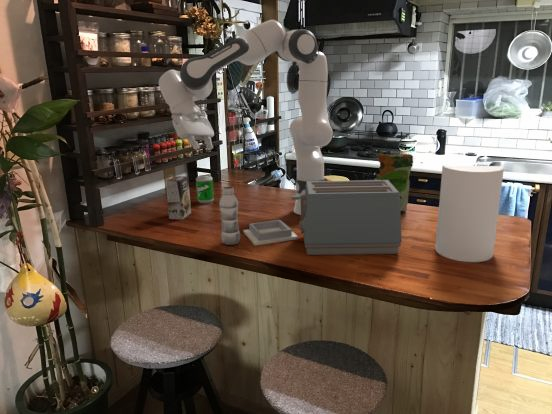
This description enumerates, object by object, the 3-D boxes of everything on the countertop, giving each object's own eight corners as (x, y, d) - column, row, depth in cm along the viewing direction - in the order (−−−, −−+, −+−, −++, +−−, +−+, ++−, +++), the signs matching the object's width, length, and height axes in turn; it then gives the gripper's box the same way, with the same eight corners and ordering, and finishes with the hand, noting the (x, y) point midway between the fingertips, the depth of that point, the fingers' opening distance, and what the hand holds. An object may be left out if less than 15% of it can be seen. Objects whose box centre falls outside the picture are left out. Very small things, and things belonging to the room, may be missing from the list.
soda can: (205, 198, 215) (203, 173, 211) (217, 200, 210) (215, 175, 207) (194, 202, 209) (192, 176, 205) (206, 204, 205) (204, 178, 201)
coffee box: (183, 219, 185) (180, 181, 180) (168, 219, 186) (164, 180, 182) (191, 213, 193) (188, 175, 189) (177, 212, 195) (174, 175, 190)
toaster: (292, 235, 165) (291, 180, 159) (388, 234, 164) (391, 178, 158) (292, 256, 146) (291, 195, 140) (401, 255, 145) (405, 193, 139)
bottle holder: (284, 226, 174) (284, 218, 173) (298, 239, 161) (297, 229, 160) (243, 232, 169) (243, 223, 168) (254, 245, 156) (254, 236, 155)
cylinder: (500, 263, 137) (511, 172, 129) (439, 260, 140) (447, 171, 132) (485, 242, 153) (494, 160, 145) (431, 240, 156) (438, 160, 148)
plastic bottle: (233, 248, 154) (230, 191, 148) (217, 244, 157) (214, 188, 152) (244, 242, 159) (241, 186, 153) (229, 239, 163) (225, 184, 157)
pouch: (412, 213, 185) (416, 152, 178) (389, 218, 180) (392, 155, 173) (394, 206, 195) (397, 148, 187) (371, 211, 190) (374, 151, 182)
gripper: (177, 107, 149) (196, 143, 149) (207, 111, 168) (224, 144, 168) (163, 117, 152) (181, 153, 151) (194, 120, 171) (211, 153, 170)
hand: (204, 148), depth 159 cm, fingers open, 8 cm apart
